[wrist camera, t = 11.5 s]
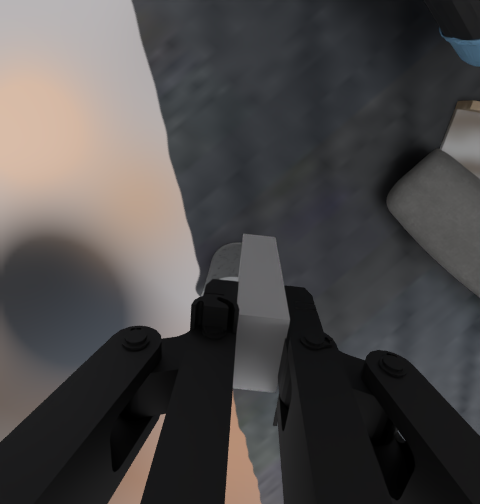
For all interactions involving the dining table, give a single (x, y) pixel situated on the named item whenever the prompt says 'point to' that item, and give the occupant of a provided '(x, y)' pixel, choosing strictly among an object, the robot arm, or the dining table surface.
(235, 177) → the dining table surface
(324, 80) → the dining table surface
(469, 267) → the vase
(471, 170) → the tray
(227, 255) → the grey cylinder
